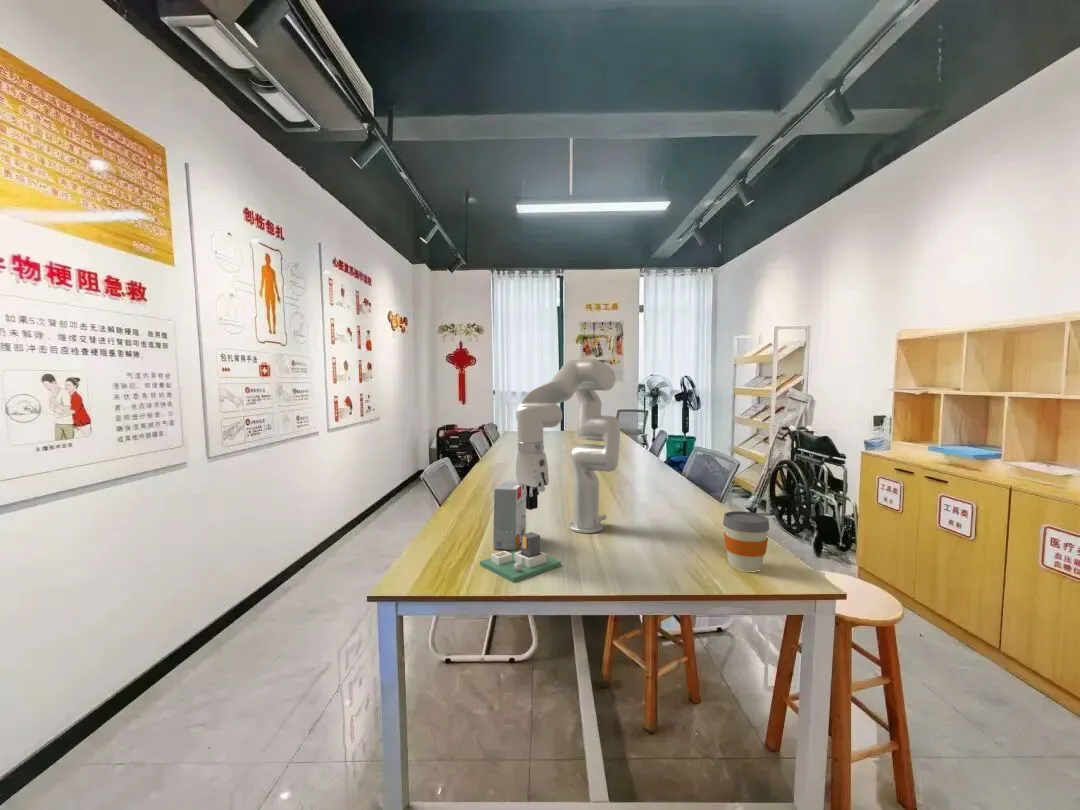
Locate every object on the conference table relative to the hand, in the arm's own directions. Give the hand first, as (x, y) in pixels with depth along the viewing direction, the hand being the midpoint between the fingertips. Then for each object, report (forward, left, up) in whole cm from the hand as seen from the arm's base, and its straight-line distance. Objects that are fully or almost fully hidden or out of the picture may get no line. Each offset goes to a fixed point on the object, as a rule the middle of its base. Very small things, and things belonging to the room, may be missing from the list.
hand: (531, 508), depth 140 cm
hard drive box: (-7, -20, -17) cm, 27 cm away
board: (+3, -2, -17) cm, 17 cm away
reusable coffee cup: (-47, +42, -17) cm, 66 cm away
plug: (+1, 0, -16) cm, 16 cm away
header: (+1, 0, -16) cm, 16 cm away
